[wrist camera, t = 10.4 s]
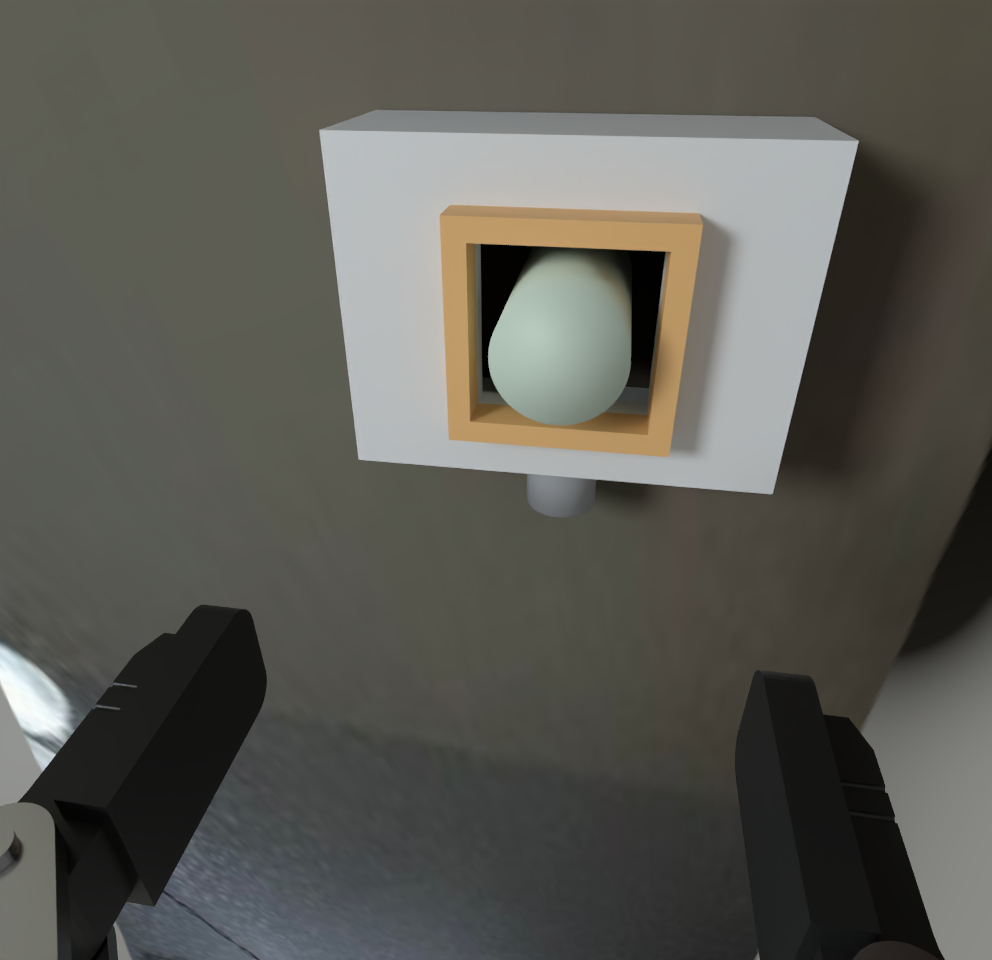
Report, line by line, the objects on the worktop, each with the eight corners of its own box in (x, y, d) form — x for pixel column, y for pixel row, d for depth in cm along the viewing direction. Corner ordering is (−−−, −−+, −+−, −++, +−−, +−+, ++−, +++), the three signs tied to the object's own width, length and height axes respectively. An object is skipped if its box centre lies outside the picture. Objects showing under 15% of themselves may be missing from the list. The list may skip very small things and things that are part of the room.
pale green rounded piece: (525, 218, 29) (487, 288, 21) (637, 222, 28) (638, 295, 21) (523, 324, 31) (488, 420, 24) (626, 329, 31) (623, 430, 23)
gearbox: (376, 109, 28) (300, 136, 21) (815, 117, 26) (873, 148, 19) (403, 450, 36) (354, 541, 29) (738, 477, 34) (762, 582, 27)
